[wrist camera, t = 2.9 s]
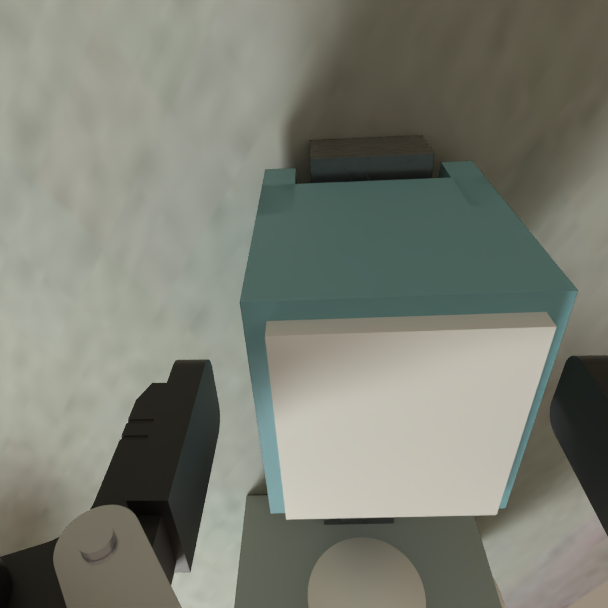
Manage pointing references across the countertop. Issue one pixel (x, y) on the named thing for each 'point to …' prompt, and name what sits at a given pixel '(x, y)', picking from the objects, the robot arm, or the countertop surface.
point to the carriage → (396, 343)
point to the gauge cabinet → (362, 563)
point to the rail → (369, 167)
